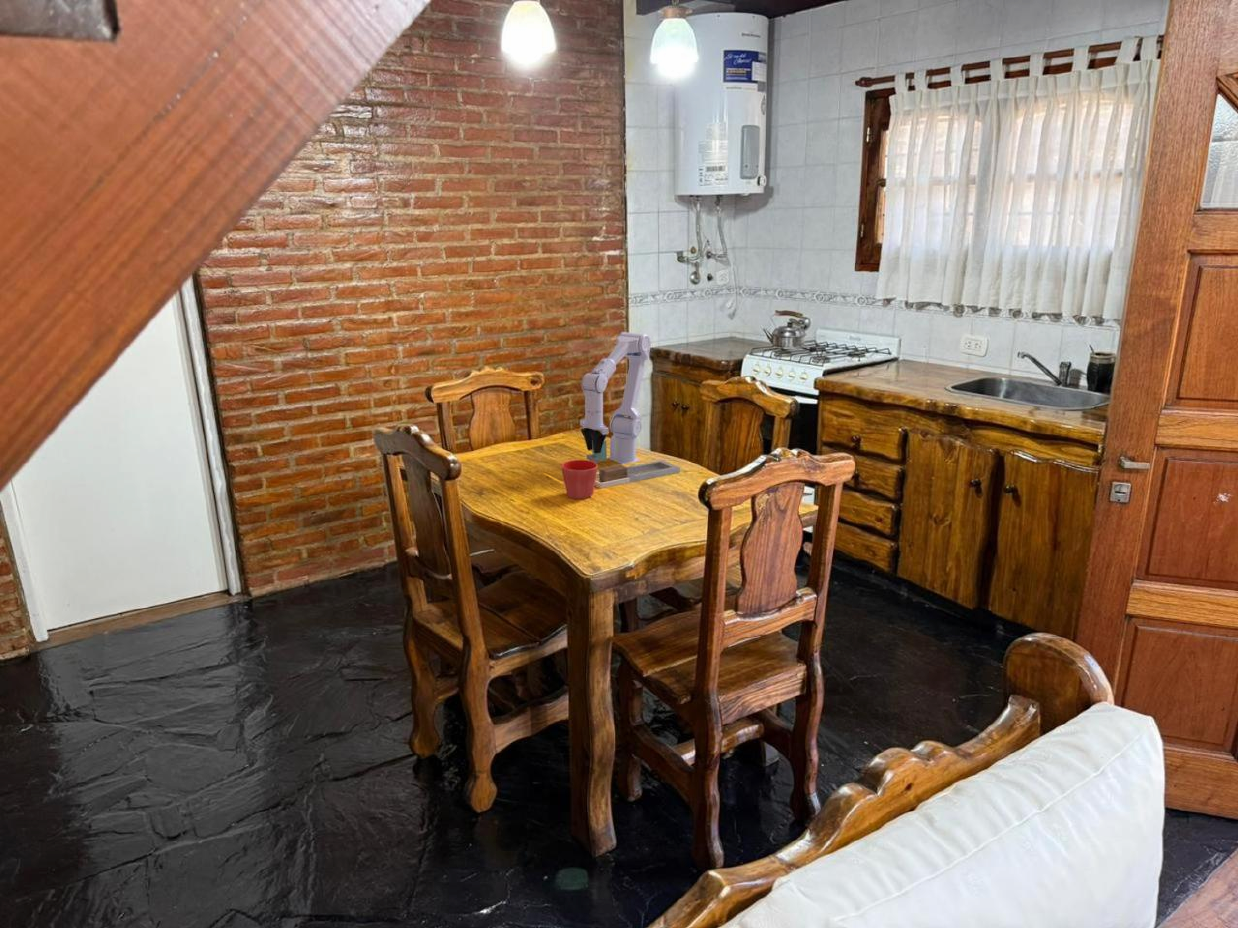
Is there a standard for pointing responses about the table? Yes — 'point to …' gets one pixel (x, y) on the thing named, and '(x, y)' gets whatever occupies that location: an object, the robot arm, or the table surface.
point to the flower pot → (579, 478)
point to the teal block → (598, 454)
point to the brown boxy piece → (607, 474)
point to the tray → (611, 482)
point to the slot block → (651, 470)
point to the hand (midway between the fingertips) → (594, 451)
